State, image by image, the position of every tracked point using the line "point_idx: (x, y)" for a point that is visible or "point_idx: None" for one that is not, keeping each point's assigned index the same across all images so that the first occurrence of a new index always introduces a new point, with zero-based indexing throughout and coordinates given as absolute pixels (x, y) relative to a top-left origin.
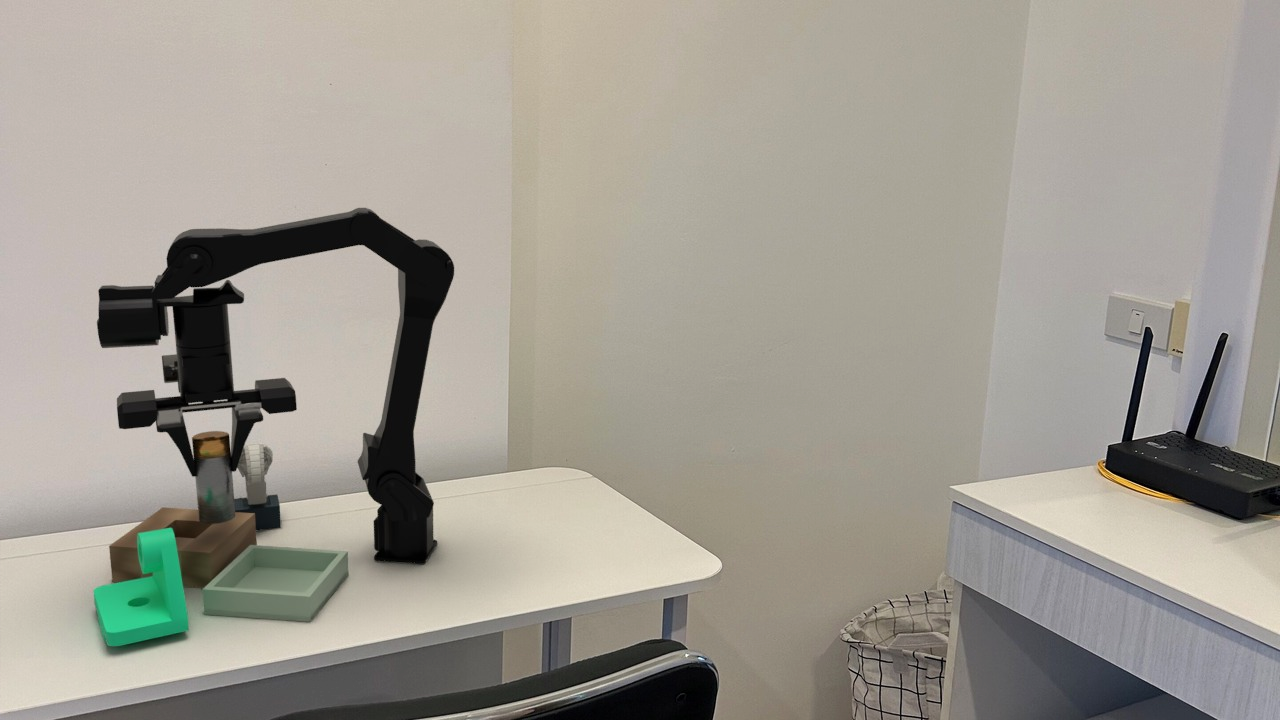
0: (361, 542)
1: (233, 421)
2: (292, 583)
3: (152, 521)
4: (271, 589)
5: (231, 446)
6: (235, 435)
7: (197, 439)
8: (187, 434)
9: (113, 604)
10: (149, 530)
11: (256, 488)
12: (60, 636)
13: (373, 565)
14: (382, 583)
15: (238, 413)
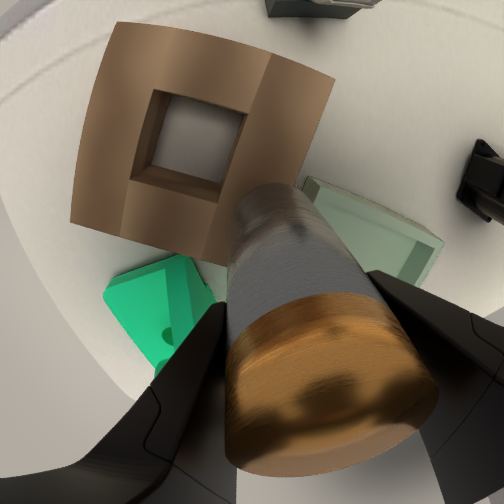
0: (453, 125)
1: (491, 443)
2: (363, 259)
3: (107, 99)
4: None
5: (414, 336)
6: (430, 457)
7: (263, 467)
8: (212, 498)
9: (146, 336)
10: (112, 149)
11: (346, 5)
12: (108, 329)
13: (452, 206)
14: (445, 257)
15: (494, 501)
